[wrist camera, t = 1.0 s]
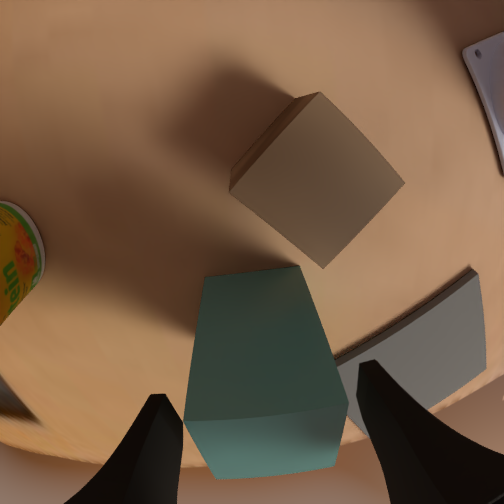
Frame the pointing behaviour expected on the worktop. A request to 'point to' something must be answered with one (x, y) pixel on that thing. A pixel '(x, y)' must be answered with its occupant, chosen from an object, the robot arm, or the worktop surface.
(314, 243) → the walnut block
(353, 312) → the worktop surface
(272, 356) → the teal block
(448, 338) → the slate mat
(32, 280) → the supplement bottle
